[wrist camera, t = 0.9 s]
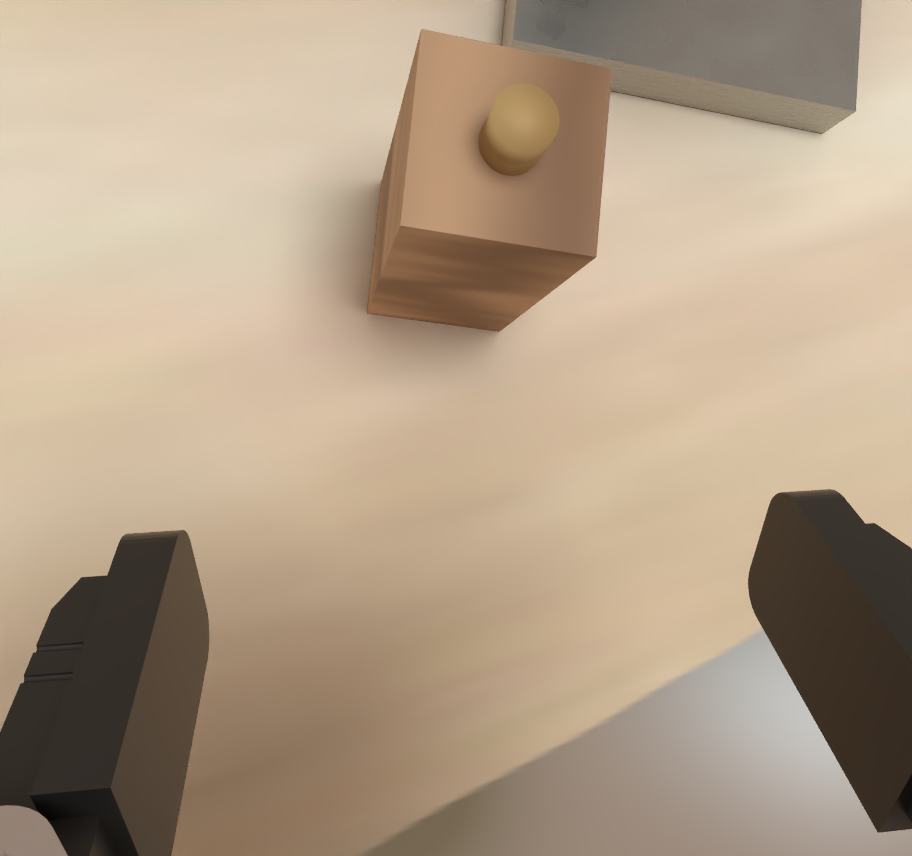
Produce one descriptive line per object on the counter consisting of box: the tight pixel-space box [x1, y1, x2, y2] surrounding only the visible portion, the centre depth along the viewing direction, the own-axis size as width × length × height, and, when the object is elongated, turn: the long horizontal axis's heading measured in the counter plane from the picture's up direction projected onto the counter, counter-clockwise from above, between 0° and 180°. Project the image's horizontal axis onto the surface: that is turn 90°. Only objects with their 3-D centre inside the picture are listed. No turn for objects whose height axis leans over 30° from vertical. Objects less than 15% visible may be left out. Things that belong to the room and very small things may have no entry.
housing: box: [367, 29, 612, 332], centre depth 24 cm, size 5×5×12 cm
